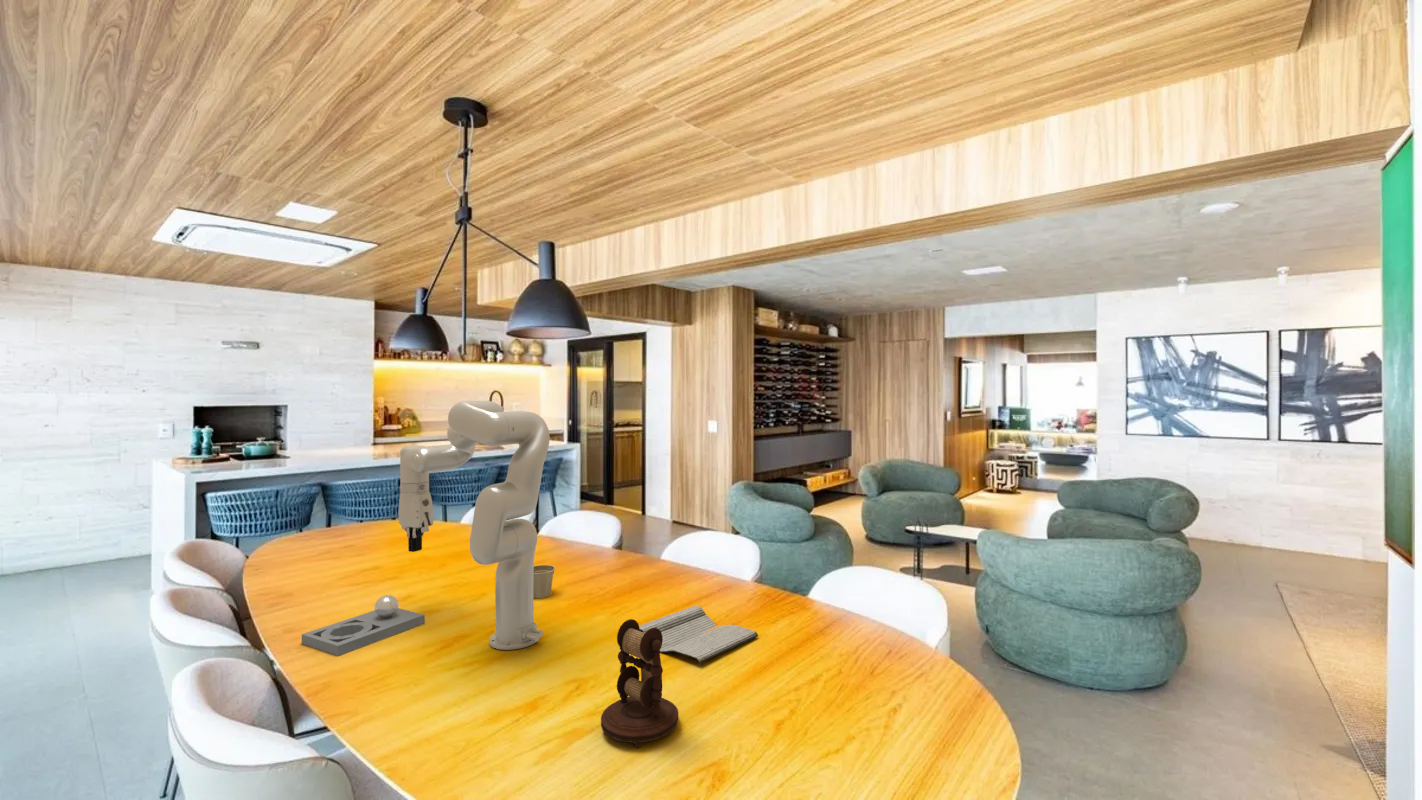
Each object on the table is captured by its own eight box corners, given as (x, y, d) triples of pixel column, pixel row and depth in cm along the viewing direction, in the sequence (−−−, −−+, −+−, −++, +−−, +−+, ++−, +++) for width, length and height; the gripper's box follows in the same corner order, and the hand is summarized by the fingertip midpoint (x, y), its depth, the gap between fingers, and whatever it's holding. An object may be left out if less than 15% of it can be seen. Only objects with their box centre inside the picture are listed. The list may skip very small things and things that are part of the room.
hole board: (424, 623, 169) (424, 614, 169) (337, 656, 148) (337, 645, 148) (389, 614, 176) (389, 605, 176) (301, 643, 155) (301, 634, 155)
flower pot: (537, 602, 186) (537, 574, 186) (519, 596, 191) (519, 569, 191) (561, 594, 193) (561, 567, 193) (543, 589, 199) (543, 563, 199)
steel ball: (403, 615, 169) (403, 593, 169) (383, 622, 163) (382, 600, 163) (390, 611, 171) (389, 590, 171) (369, 618, 166) (369, 597, 166)
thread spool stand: (694, 725, 115) (693, 622, 115) (636, 760, 104) (635, 646, 104) (643, 700, 125) (642, 605, 125) (585, 730, 114) (584, 625, 114)
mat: (699, 671, 140) (699, 650, 140) (632, 644, 155) (632, 626, 155) (758, 640, 157) (758, 622, 157) (693, 619, 172) (692, 602, 172)
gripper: (443, 488, 175) (443, 550, 175) (410, 484, 182) (410, 545, 182) (419, 491, 168) (420, 556, 168) (386, 488, 175) (387, 550, 176)
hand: (415, 550), depth 175 cm, fingers closed
